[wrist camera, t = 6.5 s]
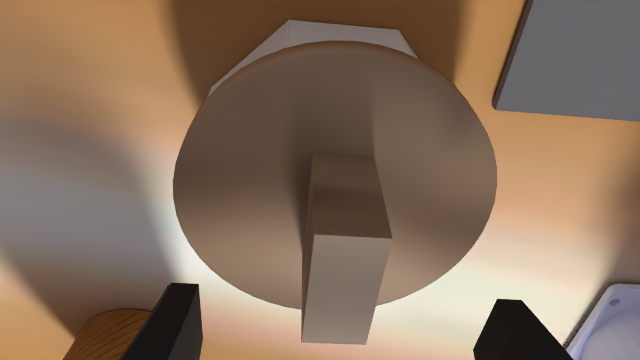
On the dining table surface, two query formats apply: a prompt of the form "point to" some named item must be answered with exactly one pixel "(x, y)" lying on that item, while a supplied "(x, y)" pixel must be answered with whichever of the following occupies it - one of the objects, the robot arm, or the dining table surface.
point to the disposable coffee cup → (107, 335)
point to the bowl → (321, 39)
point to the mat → (575, 60)
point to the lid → (334, 181)
